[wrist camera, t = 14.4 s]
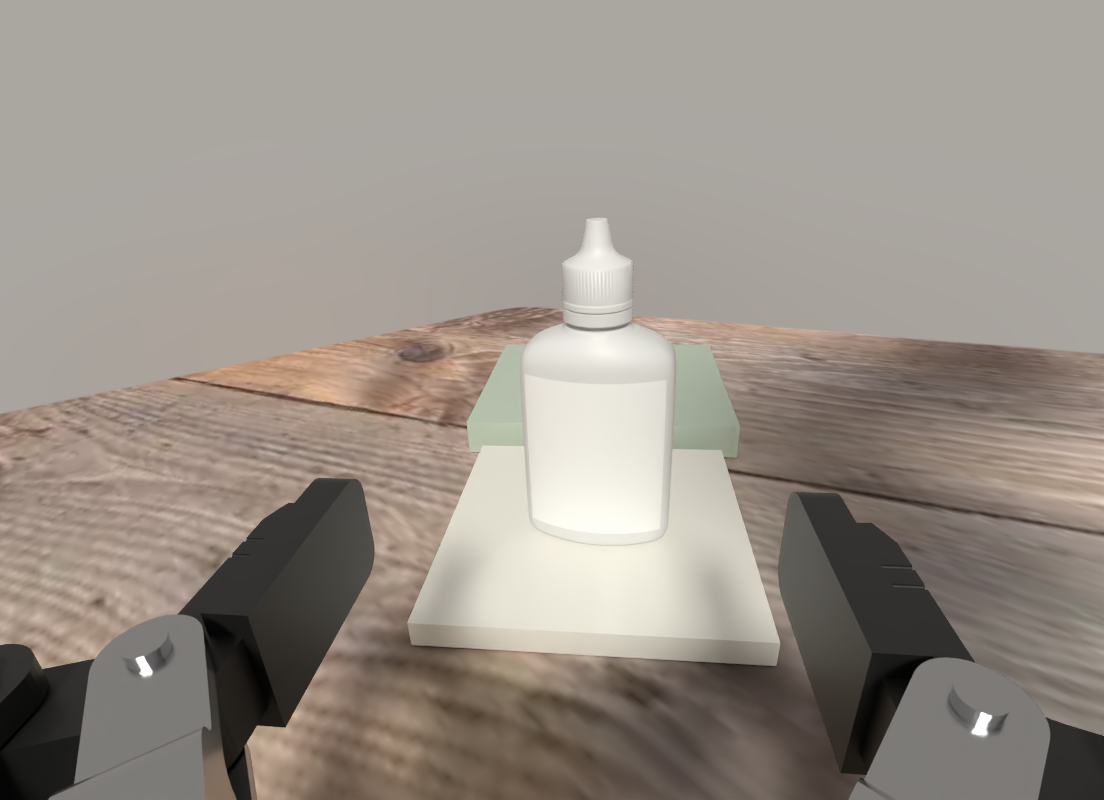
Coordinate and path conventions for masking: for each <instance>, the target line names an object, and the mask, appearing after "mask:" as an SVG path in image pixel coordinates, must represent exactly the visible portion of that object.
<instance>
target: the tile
mask: <svg viewBox="0 0 1104 800" xmlns="http://www.w3.org/2000/svg"><path fill="white" fill-rule="evenodd" d="M407 625H408V630H409V635H410V641H411V645H420V646H437V647H454V648H472V649H489V650H506V651H523V652H541V653H558V654H575V655H593V656H610V657H627V658H645V659H662V660H679V661H696V662H714V663H731V664H748V665H766V666H777V660H778V654H779V648H780V640H779V637H778V634H777V630H776V627H775V624H774V621H773V617H772V614H771V611H770V607H769V604H768V601H767V598H766V594H765V591H764V588H763V584H762V581H761V578H760V574H759V571H758V568H757V565H756V561H755V558H754V555H753V551H752V548H751V545H750V542H749V538H748V535H747V532H746V528H745V525H744V522H743V518H742V515H741V512H740V509H739V505H738V502H737V499H736V495H735V492H734V489H733V486H732V482H731V479H730V476H729V472H728V469H727V466H726V463H725V459H724V456H723V453H722V450H695V449H672V467H671V485H670V503H669V519H668V527H667V530H666V531H665V533H664V535H663V536H662V537H661V538H659V539H657V540H655V541H651V542H647V543H640V544H632V545H619V546H604V545H591V544H583V543H578V542H573V541H568V540H565V539H561V538H558V537H555V536H552V535H549V534H546V533H544V532H542V531H540V530H538V529H537V528H535V527H534V526H533V525H532V523H531V522H530V519H529V511H528V498H527V483H526V467H525V452H524V446H485V445H483V446H482V448H481V451H480V453H479V455H478V458H477V460H476V462H475V465H474V467H473V469H472V472H471V474H470V476H469V479H468V481H467V484H466V486H465V488H464V491H463V493H462V495H461V498H460V500H459V502H458V505H457V507H456V509H455V512H454V514H453V516H452V519H451V521H450V524H449V526H448V528H447V531H446V533H445V535H444V538H443V540H442V542H441V545H440V547H439V549H438V552H437V554H436V556H435V559H434V561H433V563H432V566H431V568H430V571H429V573H428V575H427V578H426V580H425V582H424V585H423V587H422V589H421V592H420V594H419V596H418V599H417V601H416V603H415V606H414V608H413V611H412V613H411V615H410V618H409V620H408V622H407Z"/></svg>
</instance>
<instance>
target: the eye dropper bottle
mask: <svg viewBox="0 0 1104 800" xmlns="http://www.w3.org/2000/svg"><path fill="white" fill-rule="evenodd" d="M561 268H562V301H563V320H564V321H565V322H566V323H563V324H559V325H556V326H553V327H550V328H548V329H545V330H543V331H541V332H539V333H538V334H536V335H535V336H534V337H533V338H532V339H531V340H530V341H529V342H528V344H527V345H526V347H525V348H524V350H523V353H522V355H521V359H520V384H521V404H522V420H523V436H524V452H525V467H526V483H527V498H528V511H529V519H530V522H531V523H532V525H533V526H534V527H535V528H537V529H538V530H540V531H542V532H544V533H546V534H549V535H552V536H555V537H558V538H561V539H565V540H568V541H573V542H578V543H583V544H591V545H604V546H619V545H632V544H640V543H647V542H651V541H655V540H657V539H659V538H661V537H662V536H663V535H664V533H665V531H666V530H667V527H668V519H669V503H670V485H671V467H672V448H673V429H674V409H675V386H676V354H675V350H674V347H673V345H672V344H671V343H670V342H669V341H668V340H667V339H666V338H665V337H664V336H662V335H661V334H659V333H657V332H655V331H652V330H650V329H648V328H645V327H642V326H639V325H636V324H633V323H630V322H629V321H631V320H632V318H633V271H634V264H633V262H632V261H631V260H630V259H629V258H627V257H624V256H622V255H620V254H618V253H617V252H616V251H615V249H614V247H613V244H612V240H611V234H610V229H609V223H608V219H607V218H591V219H587V220H586V226H585V231H584V237H583V244H582V248H581V249H580V251H579V252H578V253H577V254H576V255H575V256H573V257H571V258H569V259H567V260H565V261H564V262H563V264H562V265H561Z"/></svg>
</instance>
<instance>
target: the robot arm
mask: <svg viewBox="0 0 1104 800" xmlns="http://www.w3.org/2000/svg"><path fill="white" fill-rule="evenodd" d="M232 554H233V556H232V558H228V559H227V560H226V561H225V562H224V563H223V565H222V566H221V567H220V568H219V569H218V570H217V571H216V572H215V573H214V575H213V576H212V577H211V578H210V579H209V580H208V581H207V582H206V583H205V585H204V586H203V587H202V588H201V589H200V590H199V591H198V592H197V593H196V595H195V596H194V597H193V598H192V599H191V600H190V601H189V602H188V603H187V605H186V606H185V607H184V608H183V609H182V610H181V611H180V612H179V613H178V615H167V616H162V617H157V618H154V619H151V620H148V621H146V622H143V623H141V624H138V625H136V626H134V627H132V628H130V629H129V630H127V631H125V632H124V633H122V634H121V635H119V636H118V637H116V638H115V639H114V640H112V641H111V642H110V643H109V644H108V645H107V646H106V647H105V648H104V649H103V650H102V651H101V652H100V653H99V654H98V656H97V657H96V658H95V659H92V660H87V661H82V662H76V663H71V664H66V665H61V666H56V667H51V668H46V669H42V668H41V666H40V665H39V663H38V661H37V659H36V657H35V656H34V654H33V652H32V651H31V649H30V648H28V647H27V646H24V645H20V644H4V645H0V800H257V794H256V787H255V780H254V774H253V767H252V760H251V754H250V750H249V747H248V745H247V741H248V739H249V738H250V736H251V734H252V733H253V731H254V729H255V728H256V726H257V725H260V726H272V727H286V725H287V723H288V722H289V720H290V718H291V716H292V714H293V713H294V711H295V709H296V707H297V705H298V704H299V702H300V700H301V698H302V696H303V695H304V693H305V691H306V689H307V687H308V686H309V684H310V682H311V680H312V678H313V677H314V675H315V673H316V671H317V669H318V668H319V666H320V664H321V662H322V660H323V658H324V657H325V655H326V653H327V651H328V649H329V648H330V646H331V644H332V642H333V640H334V639H335V637H336V635H337V633H338V631H339V630H340V628H341V626H342V624H343V622H344V621H345V619H346V617H347V615H348V613H349V612H350V610H351V608H352V606H353V604H354V603H355V601H356V599H357V597H358V595H359V594H360V592H361V590H362V588H363V586H364V585H365V583H366V581H367V579H368V577H369V575H370V573H371V570H372V566H373V561H374V541H373V536H372V531H371V526H370V521H369V516H368V511H367V507H366V502H365V497H364V492H363V488H362V485H361V483H360V482H359V481H358V480H357V479H337V478H317V479H315V480H314V481H313V482H312V483H311V484H310V485H309V487H308V488H307V489H306V490H305V491H304V492H303V494H302V495H301V496H300V497H299V498H298V499H297V501H296V502H295V503H288V504H286V505H284V506H283V507H281V508H280V509H278V510H277V511H275V512H274V513H272V514H270V515H269V516H267V517H266V518H264V519H263V520H262V521H261V522H260V523H259V525H258V526H257V527H256V528H255V529H254V530H253V531H252V532H251V533H250V535H249V536H248V537H247V540H246V542H242V543H241V545H240V546H239V547H238V548H237V549H236V550H235V551H234V552H233V553H232ZM778 577H779V586H780V592H781V596H782V599H783V602H784V605H785V608H786V611H787V614H788V617H789V620H790V623H791V626H792V629H793V632H794V635H795V638H796V641H797V644H798V647H799V650H800V653H801V656H802V659H803V662H804V665H805V668H806V671H807V674H808V677H809V680H810V683H811V686H812V689H813V692H814V695H815V698H816V701H817V704H818V707H819V710H820V713H821V716H822V719H823V722H824V725H825V728H826V731H827V734H828V737H829V740H830V743H831V746H832V749H833V752H834V755H835V758H836V761H837V764H838V767H839V770H840V773H847V774H860V775H866V777H865V779H862V778H860V779H859V781H858V782H857V784H856V785H855V787H854V789H853V791H852V793H851V795H850V797H849V799H848V800H1104V736H1102V735H1098V734H1095V733H1092V732H1089V731H1085V730H1082V729H1079V728H1075V727H1072V726H1069V725H1066V724H1063V723H1060V722H1057V721H1054V720H1051V719H1049V718H1047V717H1045V715H1044V714H1043V712H1042V711H1041V709H1040V708H1039V706H1038V705H1037V704H1036V703H1035V701H1034V700H1033V699H1032V698H1031V697H1030V696H1029V695H1028V694H1027V693H1026V692H1025V691H1024V690H1023V689H1022V688H1020V687H1019V686H1018V685H1016V684H1015V683H1014V682H1012V681H1011V680H1009V679H1008V678H1006V677H1005V676H1003V675H1001V674H1000V673H998V672H996V671H994V670H992V669H990V668H987V667H985V666H983V665H980V664H977V663H975V662H974V660H973V659H972V657H971V656H970V654H969V653H968V651H967V649H966V648H965V646H964V645H963V643H962V642H961V640H960V639H959V637H958V636H957V634H956V633H955V631H954V629H953V628H952V626H951V625H950V623H949V622H948V620H947V619H946V617H945V616H944V614H943V613H942V611H941V610H940V608H939V606H938V605H937V603H936V602H935V600H934V599H933V597H932V596H931V594H930V593H929V591H928V590H925V588H924V583H923V582H922V580H921V579H920V577H919V576H918V574H917V573H916V571H915V570H912V565H911V563H910V562H909V560H908V559H907V557H906V556H905V554H904V553H903V551H902V550H901V548H900V547H899V545H898V544H897V543H896V542H895V541H894V540H893V539H891V538H890V537H889V536H888V535H886V534H885V533H884V532H882V531H881V530H880V529H879V528H877V527H876V526H875V525H873V524H872V523H856V522H855V520H854V518H853V517H852V515H851V513H850V511H849V510H848V508H847V506H846V505H845V503H844V501H843V499H842V498H841V496H840V495H839V494H837V493H804V492H793V493H792V494H791V495H790V497H789V500H788V505H787V512H786V518H785V524H784V531H783V537H782V544H781V550H780V556H779V565H778Z"/></svg>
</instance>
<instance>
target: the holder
mask: <svg viewBox="0 0 1104 800" xmlns="http://www.w3.org/2000/svg"><path fill="white" fill-rule="evenodd" d="M525 347H526V345H506V346H505V348H504V350H503V352H502V354H501V356H500V358H499V360H498V362H497V364H496V366H495V368H494V370H493V372H492V374H491V376H490V378H489V380H488V382H487V384H486V386H485V388H484V390H483V391H482V393H481V395H480V397H479V399H478V401H477V403H476V405H475V407H474V409H473V411H472V413H471V415H470V417H469V419H468V421H467V430H468V439H469V448H470V452H480V451H481V448H482V446H483V445H485V446H524V436H523V420H522V404H521V384H520V359H521V355H522V353H523V350H524V348H525ZM673 347H674V350H675V354H676V386H675V409H674V429H673V448H672V449H695V450H722V453H723V456H724V457H733V458H737V454H738V445H739V436H740V424H739V421H738V419H737V416H736V414H735V411H734V408H733V406H732V403H731V401H730V398H729V396H728V393H727V390H726V388H725V385H724V383H723V380H722V378H721V375H720V372H719V370H718V367H717V365H716V362H715V360H714V357H713V354H712V352H711V349H710V347H709V345H673Z"/></svg>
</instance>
